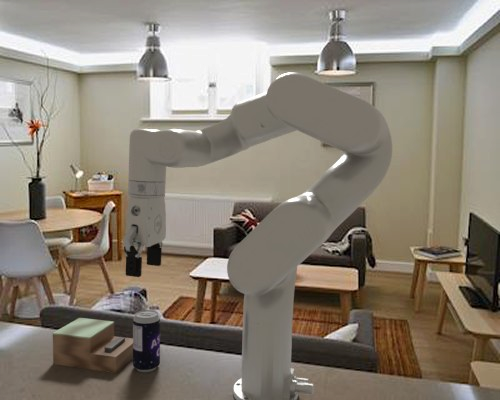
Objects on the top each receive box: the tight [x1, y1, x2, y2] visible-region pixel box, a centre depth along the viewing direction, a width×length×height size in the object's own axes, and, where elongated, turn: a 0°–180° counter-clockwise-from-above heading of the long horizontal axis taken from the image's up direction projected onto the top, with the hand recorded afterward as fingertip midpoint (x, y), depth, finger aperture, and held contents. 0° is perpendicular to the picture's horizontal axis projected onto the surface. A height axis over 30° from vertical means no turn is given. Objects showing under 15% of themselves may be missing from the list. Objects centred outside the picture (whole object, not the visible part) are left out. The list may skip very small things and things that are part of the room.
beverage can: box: [132, 309, 161, 373], centre depth 101 cm, size 6×6×12 cm
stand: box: [52, 317, 133, 374], centre depth 105 cm, size 15×10×7 cm, turn 77°
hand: (144, 270), depth 99 cm, fingers open, 9 cm apart
